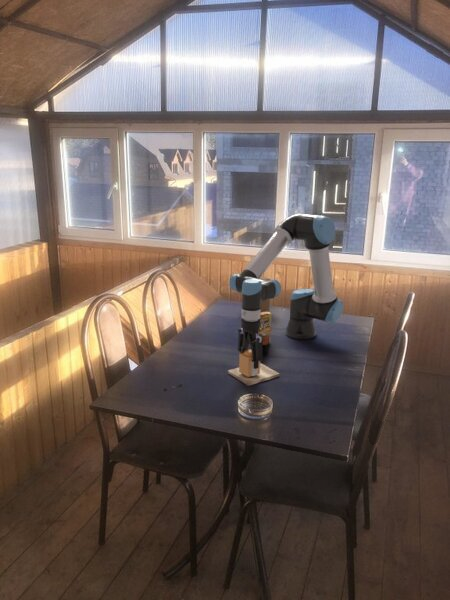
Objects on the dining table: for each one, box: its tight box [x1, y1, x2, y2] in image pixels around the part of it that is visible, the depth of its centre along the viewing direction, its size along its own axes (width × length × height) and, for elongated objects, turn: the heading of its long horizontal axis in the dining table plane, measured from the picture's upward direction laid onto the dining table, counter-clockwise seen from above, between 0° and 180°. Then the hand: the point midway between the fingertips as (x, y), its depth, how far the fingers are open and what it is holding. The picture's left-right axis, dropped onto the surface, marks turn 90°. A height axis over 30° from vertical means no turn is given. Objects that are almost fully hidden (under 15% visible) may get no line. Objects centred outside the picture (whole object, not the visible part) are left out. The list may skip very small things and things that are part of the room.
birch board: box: [227, 362, 280, 387], centre depth 205 cm, size 16×14×7 cm
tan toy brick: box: [238, 349, 261, 377], centre depth 202 cm, size 6×6×9 cm
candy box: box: [258, 311, 272, 344], centre depth 237 cm, size 9×4×15 cm, turn 116°
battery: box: [253, 333, 270, 357], centre depth 226 cm, size 4×7×10 cm, turn 65°
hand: (249, 371), depth 203 cm, fingers closed on tan toy brick, 6 cm apart
